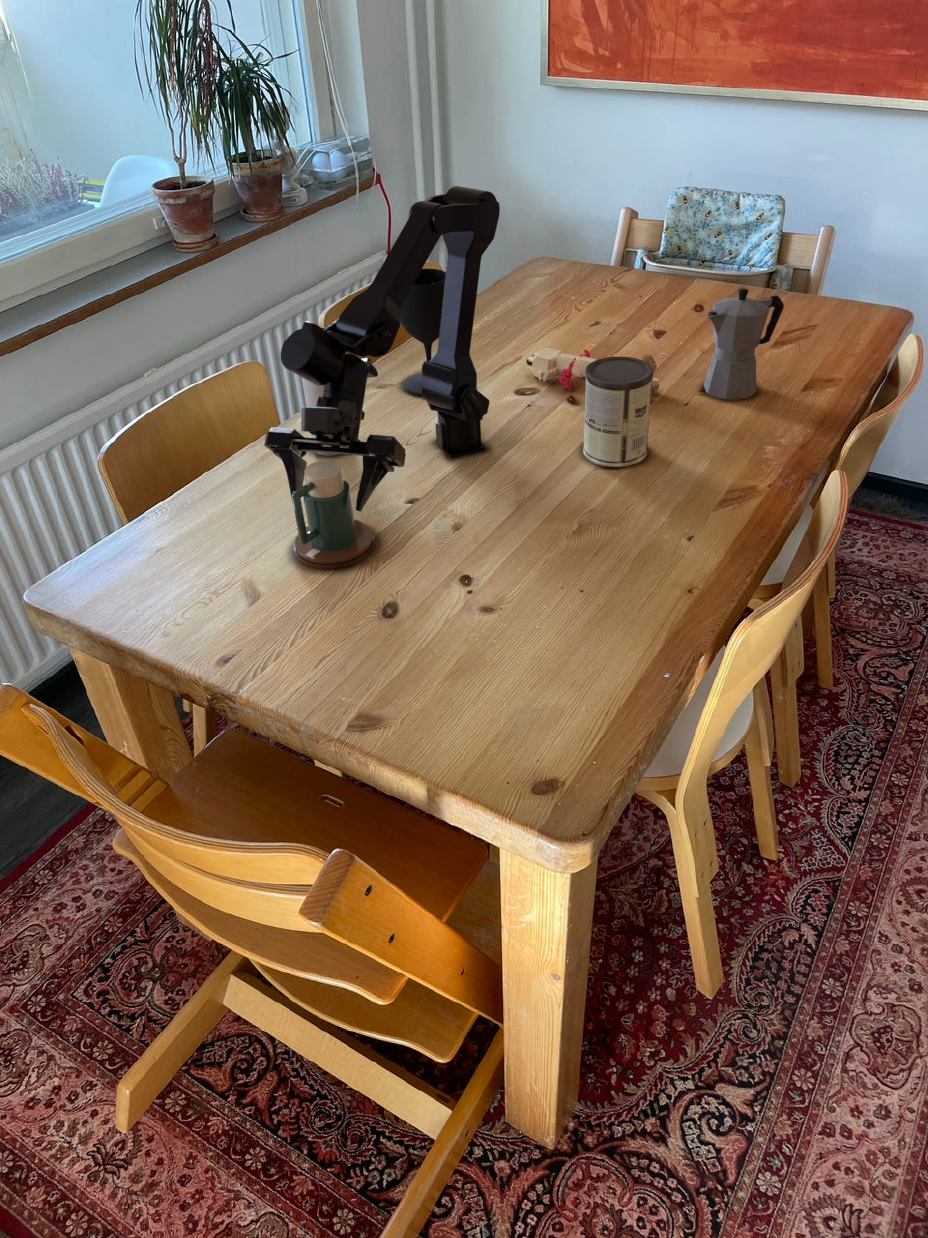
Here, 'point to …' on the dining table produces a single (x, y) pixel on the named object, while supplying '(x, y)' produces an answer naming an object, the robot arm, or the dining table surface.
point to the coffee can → (617, 411)
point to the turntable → (336, 565)
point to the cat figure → (570, 366)
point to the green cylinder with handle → (328, 517)
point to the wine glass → (423, 316)
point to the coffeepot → (738, 343)
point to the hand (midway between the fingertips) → (326, 507)
